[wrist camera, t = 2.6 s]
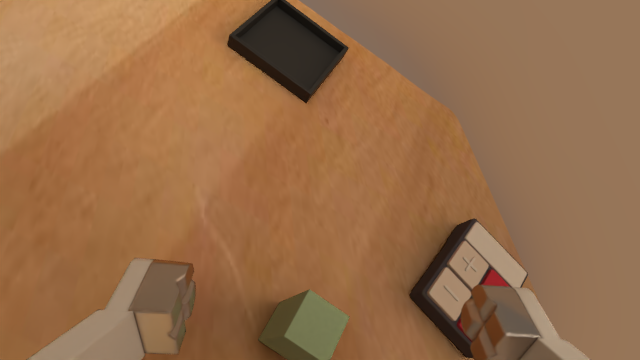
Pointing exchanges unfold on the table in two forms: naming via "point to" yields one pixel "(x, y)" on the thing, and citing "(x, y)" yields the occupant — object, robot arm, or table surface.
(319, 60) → the black tray
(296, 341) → the tall green rectangular block
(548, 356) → the robot arm
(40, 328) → the table surface
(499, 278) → the calculator
